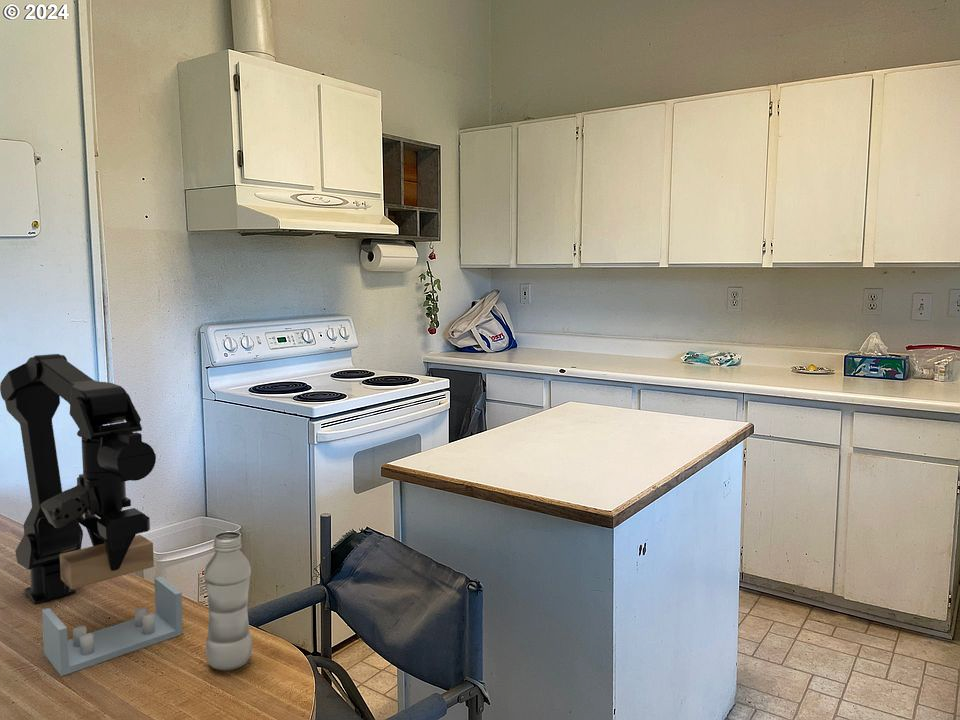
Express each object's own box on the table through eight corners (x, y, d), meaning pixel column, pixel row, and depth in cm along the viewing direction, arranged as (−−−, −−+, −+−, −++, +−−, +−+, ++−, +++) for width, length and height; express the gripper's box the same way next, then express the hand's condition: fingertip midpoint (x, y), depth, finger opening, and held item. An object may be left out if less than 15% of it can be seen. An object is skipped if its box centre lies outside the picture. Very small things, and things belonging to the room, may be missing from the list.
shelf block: (60, 579, 110) (59, 554, 110) (141, 557, 119) (140, 534, 119) (71, 589, 107) (70, 563, 107) (153, 566, 116) (152, 542, 115)
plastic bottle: (238, 679, 103) (237, 546, 101) (195, 672, 105) (193, 541, 102) (260, 656, 110) (260, 530, 107) (220, 649, 111) (218, 525, 108)
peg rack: (43, 653, 108) (41, 609, 107) (161, 615, 121) (160, 576, 120) (61, 676, 103) (59, 630, 102) (182, 634, 115) (181, 592, 114)
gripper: (26, 465, 111) (31, 562, 113) (66, 492, 99) (72, 600, 101) (102, 453, 120) (106, 543, 121) (149, 476, 107) (153, 577, 109)
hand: (108, 564), depth 113 cm, fingers closed on shelf block, 5 cm apart
